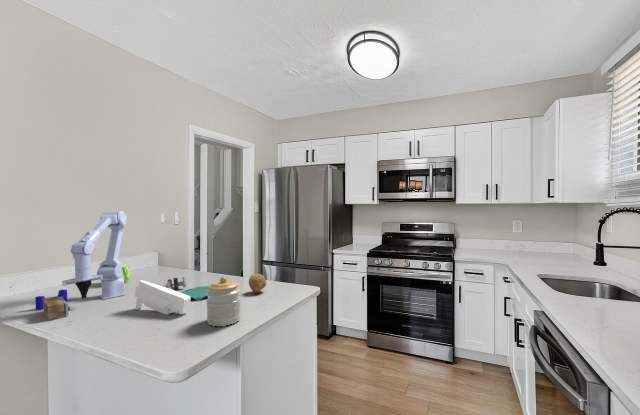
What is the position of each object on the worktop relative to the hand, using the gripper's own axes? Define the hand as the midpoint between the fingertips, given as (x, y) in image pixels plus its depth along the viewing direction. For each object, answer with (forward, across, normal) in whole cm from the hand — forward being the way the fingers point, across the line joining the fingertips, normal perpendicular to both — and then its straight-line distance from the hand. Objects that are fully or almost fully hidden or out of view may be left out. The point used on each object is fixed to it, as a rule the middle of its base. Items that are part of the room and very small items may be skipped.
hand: (83, 297), depth 137 cm
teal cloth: (+6, +49, -22) cm, 54 cm away
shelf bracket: (+5, +21, -34) cm, 40 cm away
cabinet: (+5, -11, -1) cm, 12 cm away
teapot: (+5, +22, +40) cm, 46 cm away
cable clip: (+5, -10, +17) cm, 20 cm away
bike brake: (+5, +37, +1) cm, 37 cm away
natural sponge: (+5, +65, -44) cm, 78 cm away
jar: (+5, +33, -65) cm, 73 cm away
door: (+4, -7, 0) cm, 8 cm away
